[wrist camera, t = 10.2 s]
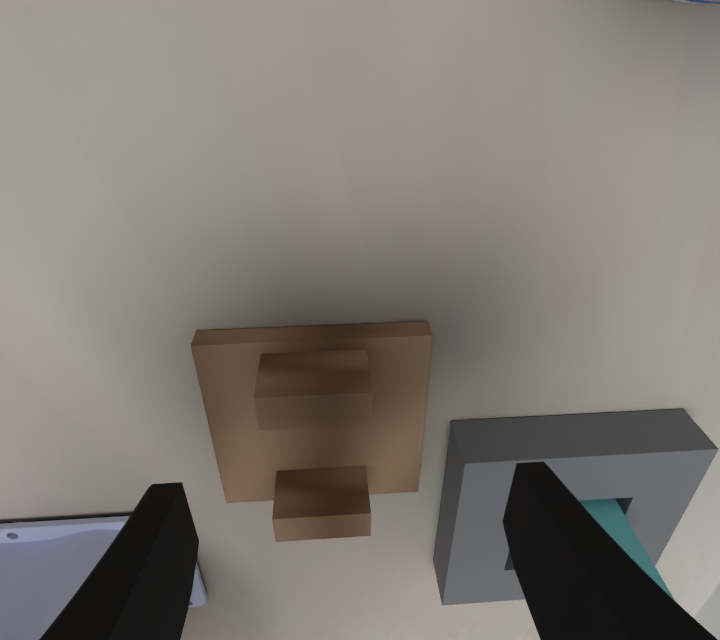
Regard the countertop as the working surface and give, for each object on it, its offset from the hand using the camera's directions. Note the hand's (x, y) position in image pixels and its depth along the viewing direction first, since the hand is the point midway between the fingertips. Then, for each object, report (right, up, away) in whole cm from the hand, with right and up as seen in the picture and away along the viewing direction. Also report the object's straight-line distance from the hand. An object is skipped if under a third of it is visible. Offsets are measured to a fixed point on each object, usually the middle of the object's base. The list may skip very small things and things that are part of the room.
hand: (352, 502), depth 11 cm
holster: (-2, 0, +11) cm, 11 cm away
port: (+10, -5, +15) cm, 19 cm away
